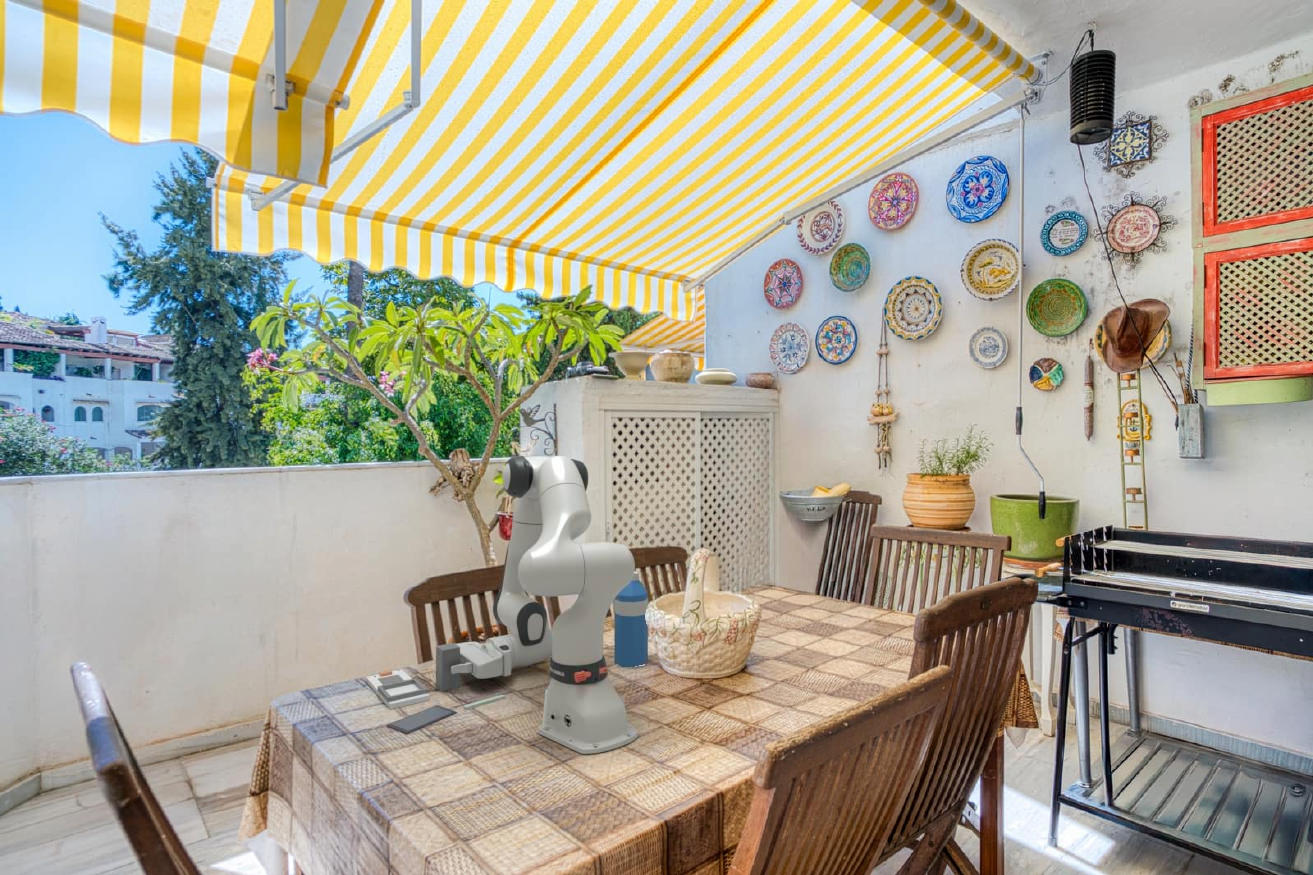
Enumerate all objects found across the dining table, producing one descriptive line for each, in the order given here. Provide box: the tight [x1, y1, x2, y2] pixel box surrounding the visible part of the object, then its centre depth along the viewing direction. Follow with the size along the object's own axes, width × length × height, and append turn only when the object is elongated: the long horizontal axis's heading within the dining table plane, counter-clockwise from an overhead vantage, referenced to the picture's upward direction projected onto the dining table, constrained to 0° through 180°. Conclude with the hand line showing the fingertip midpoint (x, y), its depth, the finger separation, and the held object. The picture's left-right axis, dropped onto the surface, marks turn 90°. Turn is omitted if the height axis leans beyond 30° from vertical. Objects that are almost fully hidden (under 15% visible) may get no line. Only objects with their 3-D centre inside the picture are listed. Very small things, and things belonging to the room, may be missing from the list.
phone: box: [386, 704, 458, 735], centre depth 144 cm, size 7×13×1 cm, turn 147°
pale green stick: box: [462, 694, 506, 711], centre depth 154 cm, size 10×1×1 cm, turn 133°
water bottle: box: [613, 570, 649, 668], centre depth 182 cm, size 9×9×25 cm
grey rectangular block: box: [435, 642, 461, 692], centre depth 164 cm, size 4×4×10 cm
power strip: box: [365, 669, 431, 710], centre depth 161 cm, size 22×9×2 cm, turn 37°
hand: (444, 665), depth 164 cm, fingers open, 7 cm apart
